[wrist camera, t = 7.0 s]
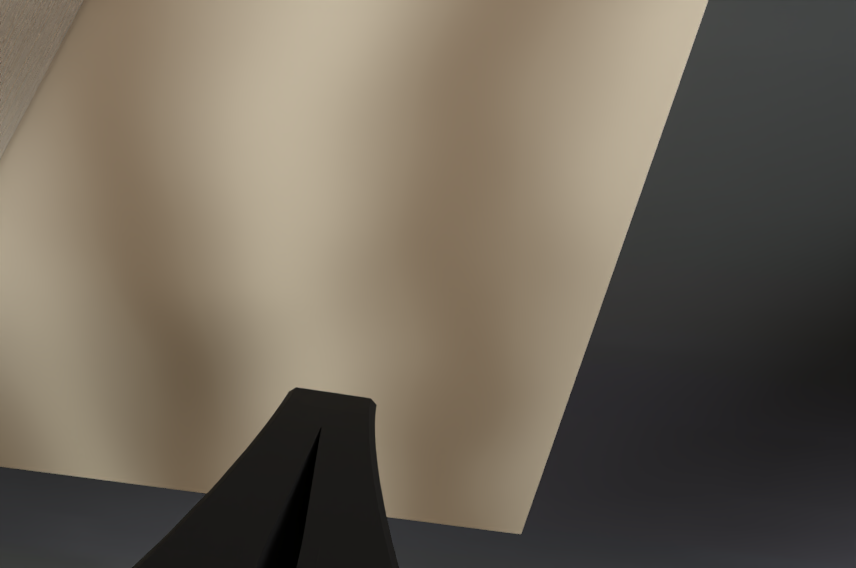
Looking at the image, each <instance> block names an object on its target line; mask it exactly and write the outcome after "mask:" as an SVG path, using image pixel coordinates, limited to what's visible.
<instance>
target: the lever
mask: <svg viewBox="0 0 856 568" xmlns="http://www.w3.org/2000/svg"><path fill="white" fill-rule="evenodd" d="M83 1H84V0H0V159H1V157H2V155H3V153H4V151H5V150H6V148H7V146H8V144H9V142H10V140H11V138H12V136H13V134H14V132H15V130H16V129H17V127H18V125H19V123H20V121H21V119H22V117H23V115H24V113H25V111H26V110H27V108H28V106H29V104H30V102H31V100H32V98H33V96H34V94H35V92H36V91H37V89H38V87H39V85H40V83H41V81H42V79H43V77H44V75H45V73H46V71H47V70H48V68H49V66H50V64H51V62H52V60H53V58H54V56H55V54H56V52H57V51H58V49H59V47H60V45H61V43H62V41H63V39H64V37H65V35H66V33H67V31H68V30H69V28H70V26H71V24H72V22H73V20H74V18H75V16H76V14H77V12H78V11H79V9H80V7H81V5H82V3H83Z"/></svg>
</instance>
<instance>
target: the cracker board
mask: <svg viewBox="0 0 856 568" xmlns="http://www.w3.org/2000/svg"><path fill="white" fill-rule="evenodd" d="M707 2H708V0H84V1H83V3H82V5H81V7H80V9H79V11H78V12H77V14H76V16H75V18H74V20H73V22H72V24H71V26H70V28H69V30H68V31H67V33H66V35H65V37H64V39H63V41H62V43H61V45H60V47H59V49H58V51H57V52H56V54H55V56H54V58H53V60H52V62H51V64H50V66H49V68H48V70H47V71H46V73H45V75H44V77H43V79H42V81H41V83H40V85H39V87H38V89H37V91H36V92H35V94H34V96H33V98H32V100H31V102H30V104H29V106H28V108H27V110H26V111H25V113H24V115H23V117H22V119H21V121H20V123H19V125H18V127H17V129H16V130H15V132H14V134H13V136H12V138H11V140H10V142H9V144H8V146H7V148H6V150H5V151H4V153H3V155H2V157H1V159H0V467H7V468H15V469H23V470H30V471H38V472H46V473H53V474H61V475H69V476H76V477H84V478H92V479H99V480H107V481H115V482H123V483H130V484H138V485H146V486H153V487H161V488H169V489H176V490H184V491H192V492H199V493H208V492H209V491H210V490H211V489H212V488H213V486H214V485H215V484H216V483H217V482H218V481H219V480H220V479H221V477H222V476H223V475H224V474H225V473H226V472H227V470H228V469H229V468H230V467H231V466H232V465H233V464H234V462H235V461H236V460H237V459H238V458H239V457H240V455H241V454H242V453H243V452H244V451H245V450H246V448H247V447H248V446H249V445H250V444H251V442H252V441H253V440H254V439H255V437H256V436H257V435H258V434H259V432H260V431H261V430H262V429H263V427H264V426H265V425H266V423H267V422H268V421H269V419H270V418H271V417H272V415H273V414H274V413H275V411H276V410H277V408H278V407H279V406H280V404H281V403H282V401H283V400H284V398H285V397H286V395H287V394H288V392H289V391H291V390H292V389H294V388H296V387H298V388H305V389H312V390H318V391H325V392H332V393H339V394H345V395H352V396H359V397H366V398H371V399H372V400H373V401H374V402H375V403H376V405H377V406H376V414H375V441H376V453H377V462H378V471H379V478H380V484H381V490H382V495H383V500H384V506H385V511H386V516H387V517H391V518H399V519H407V520H415V521H422V522H430V523H438V524H445V525H453V526H461V527H468V528H476V529H484V530H491V531H499V532H507V533H514V534H521V533H522V530H523V527H524V524H525V522H526V519H527V516H528V513H529V510H530V507H531V505H532V502H533V499H534V496H535V493H536V490H537V487H538V485H539V482H540V479H541V476H542V473H543V470H544V467H545V465H546V462H547V459H548V456H549V453H550V450H551V447H552V445H553V442H554V439H555V436H556V433H557V430H558V428H559V425H560V422H561V419H562V416H563V413H564V410H565V408H566V405H567V402H568V399H569V396H570V393H571V390H572V388H573V385H574V382H575V379H576V376H577V373H578V370H579V368H580V365H581V362H582V359H583V356H584V353H585V350H586V348H587V345H588V342H589V339H590V336H591V333H592V331H593V328H594V325H595V322H596V319H597V316H598V313H599V311H600V308H601V305H602V302H603V299H604V296H605V293H606V291H607V288H608V285H609V282H610V279H611V276H612V273H613V271H614V268H615V265H616V262H617V259H618V256H619V254H620V251H621V248H622V245H623V242H624V239H625V236H626V234H627V231H628V228H629V225H630V222H631V219H632V216H633V214H634V211H635V208H636V205H637V202H638V199H639V196H640V194H641V191H642V188H643V185H644V182H645V179H646V177H647V174H648V171H649V168H650V165H651V162H652V159H653V157H654V154H655V151H656V148H657V145H658V142H659V139H660V137H661V134H662V131H663V128H664V125H665V122H666V119H667V117H668V114H669V111H670V108H671V105H672V102H673V99H674V97H675V94H676V91H677V88H678V85H679V82H680V80H681V77H682V74H683V71H684V68H685V65H686V62H687V60H688V57H689V54H690V51H691V48H692V45H693V42H694V40H695V37H696V34H697V31H698V28H699V25H700V22H701V20H702V17H703V14H704V11H705V8H706V5H707Z"/></svg>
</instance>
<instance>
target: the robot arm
mask: <svg viewBox="0 0 856 568" xmlns="http://www.w3.org/2000/svg"><path fill="white" fill-rule="evenodd" d="M376 406H377V405H376V403H375V402H374V401H373V400H372V399H371V398H366V397H359V396H352V395H345V394H339V393H332V392H325V391H318V390H312V389H305V388H298V387H296V388H294V389H292V390H291V391H289V392H288V394H287V395H286V397H285V398H284V400H283V401H282V403H281V404H280V406H279V407H278V408H277V410H276V411H275V413H274V414H273V415H272V417H271V418H270V419H269V421H268V422H267V423H266V425H265V426H264V427H263V429H262V430H261V431H260V432H259V434H258V435H257V436H256V437H255V439H254V440H253V441H252V442H251V444H250V445H249V446H248V447H247V448H246V450H245V451H244V452H243V453H242V454H241V455H240V457H239V458H238V459H237V460H236V461H235V462H234V464H233V465H232V466H231V467H230V468H229V469H228V470H227V472H226V473H225V474H224V475H223V476H222V477H221V479H220V480H219V481H218V482H217V483H216V484H215V485H214V486H213V488H212V489H211V490H210V491H209V492H208V493H207V494H206V495H205V496H204V497H203V498H202V499H201V500H200V501H199V502H198V503H197V504H196V505H195V506H194V507H193V508H192V509H191V511H190V512H189V513H188V514H187V515H186V516H185V517H184V518H183V519H182V520H181V521H180V522H179V523H178V524H177V525H176V526H175V527H174V528H173V529H172V530H171V531H170V532H169V533H168V534H167V535H166V536H165V537H164V538H163V539H162V540H161V541H160V542H159V543H158V544H157V545H156V546H155V547H154V548H153V549H152V550H151V551H150V552H149V553H147V554H146V555H145V556H144V557H143V558H142V559H141V560H140V561H139V562H138V563H137V564H136V565H135V566H133V567H132V568H399V567H398V563H397V559H396V555H395V551H394V547H393V543H392V539H391V535H390V530H389V526H388V521H387V516H386V511H385V506H384V500H383V495H382V490H381V484H380V478H379V471H378V462H377V453H376V441H375V414H376Z"/></svg>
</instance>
